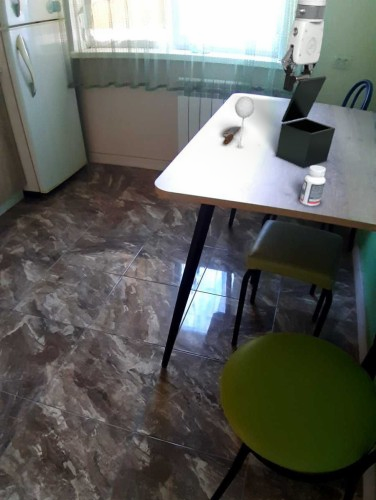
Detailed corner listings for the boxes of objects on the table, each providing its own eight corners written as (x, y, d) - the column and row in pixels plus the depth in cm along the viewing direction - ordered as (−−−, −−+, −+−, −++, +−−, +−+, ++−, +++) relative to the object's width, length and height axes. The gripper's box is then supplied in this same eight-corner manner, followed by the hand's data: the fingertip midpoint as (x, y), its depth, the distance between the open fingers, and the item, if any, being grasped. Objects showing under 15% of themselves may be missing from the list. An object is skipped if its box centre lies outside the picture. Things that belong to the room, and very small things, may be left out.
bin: (326, 161, 130) (335, 128, 123) (303, 168, 125) (311, 134, 118) (298, 150, 137) (305, 118, 130) (275, 156, 131) (281, 123, 125)
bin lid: (326, 77, 119) (314, 67, 121) (301, 81, 114) (288, 70, 116) (306, 117, 130) (295, 107, 131) (282, 122, 124) (271, 112, 126)
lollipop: (233, 151, 134) (239, 99, 123) (228, 144, 138) (233, 94, 127) (251, 150, 135) (258, 99, 124) (245, 144, 139) (252, 94, 129)
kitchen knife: (228, 124, 152) (242, 124, 151) (228, 129, 153) (242, 129, 152) (213, 139, 137) (228, 139, 135) (213, 144, 138) (228, 145, 136)
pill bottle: (323, 202, 108) (332, 168, 102) (313, 208, 106) (322, 174, 100) (306, 195, 111) (314, 162, 105) (295, 201, 108) (303, 167, 102)
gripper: (299, 16, 104) (285, 96, 117) (340, 14, 112) (323, 88, 125) (277, 12, 109) (266, 90, 121) (319, 10, 117) (304, 83, 129)
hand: (295, 88), depth 123 cm, fingers closed on bin lid, 6 cm apart
